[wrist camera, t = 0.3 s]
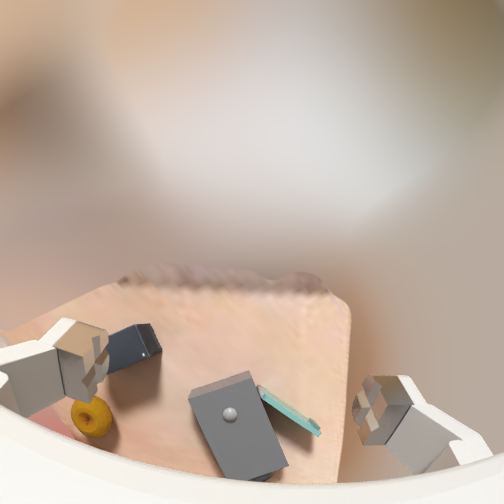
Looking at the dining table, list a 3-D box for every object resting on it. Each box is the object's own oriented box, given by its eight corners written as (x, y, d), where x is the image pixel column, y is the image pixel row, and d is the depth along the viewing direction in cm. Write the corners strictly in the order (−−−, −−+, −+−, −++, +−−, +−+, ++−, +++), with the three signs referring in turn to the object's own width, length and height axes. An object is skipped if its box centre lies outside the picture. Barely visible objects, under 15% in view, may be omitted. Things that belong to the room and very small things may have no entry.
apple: (121, 431, 54) (107, 447, 46) (84, 425, 54) (67, 438, 45) (118, 392, 56) (103, 403, 47) (80, 387, 55) (61, 396, 46)
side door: (314, 420, 58) (323, 430, 51) (309, 426, 58) (318, 436, 51) (260, 382, 59) (264, 389, 52) (255, 388, 58) (259, 396, 52)
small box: (149, 320, 60) (135, 322, 49) (163, 350, 59) (151, 358, 48) (105, 340, 58) (85, 344, 48) (119, 369, 57) (100, 378, 47)
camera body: (286, 460, 56) (293, 476, 48) (233, 478, 54) (234, 496, 47) (248, 370, 59) (252, 378, 52) (191, 389, 58) (187, 400, 50)
